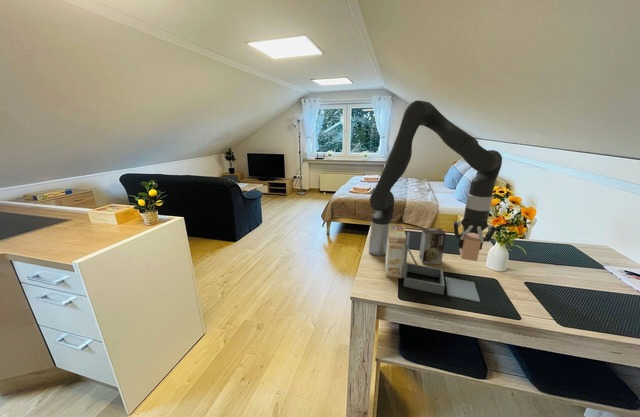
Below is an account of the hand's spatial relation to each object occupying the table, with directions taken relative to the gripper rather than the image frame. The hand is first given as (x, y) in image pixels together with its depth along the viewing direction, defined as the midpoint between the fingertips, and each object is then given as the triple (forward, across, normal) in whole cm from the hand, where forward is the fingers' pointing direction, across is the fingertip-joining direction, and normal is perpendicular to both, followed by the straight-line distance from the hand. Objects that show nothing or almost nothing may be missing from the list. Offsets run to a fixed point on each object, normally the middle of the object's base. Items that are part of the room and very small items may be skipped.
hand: (469, 248), depth 95 cm
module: (+3, 0, 0) cm, 3 cm away
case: (+18, -14, 0) cm, 23 cm away
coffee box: (+19, -12, +20) cm, 30 cm away
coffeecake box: (+19, -28, +6) cm, 34 cm away
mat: (+18, 0, 0) cm, 18 cm away
